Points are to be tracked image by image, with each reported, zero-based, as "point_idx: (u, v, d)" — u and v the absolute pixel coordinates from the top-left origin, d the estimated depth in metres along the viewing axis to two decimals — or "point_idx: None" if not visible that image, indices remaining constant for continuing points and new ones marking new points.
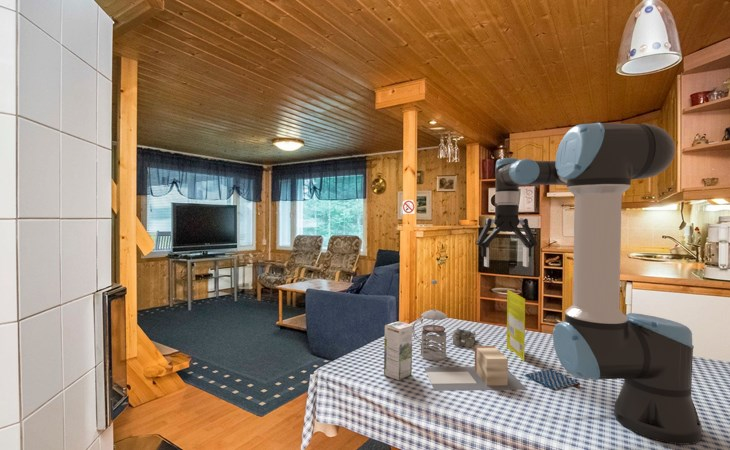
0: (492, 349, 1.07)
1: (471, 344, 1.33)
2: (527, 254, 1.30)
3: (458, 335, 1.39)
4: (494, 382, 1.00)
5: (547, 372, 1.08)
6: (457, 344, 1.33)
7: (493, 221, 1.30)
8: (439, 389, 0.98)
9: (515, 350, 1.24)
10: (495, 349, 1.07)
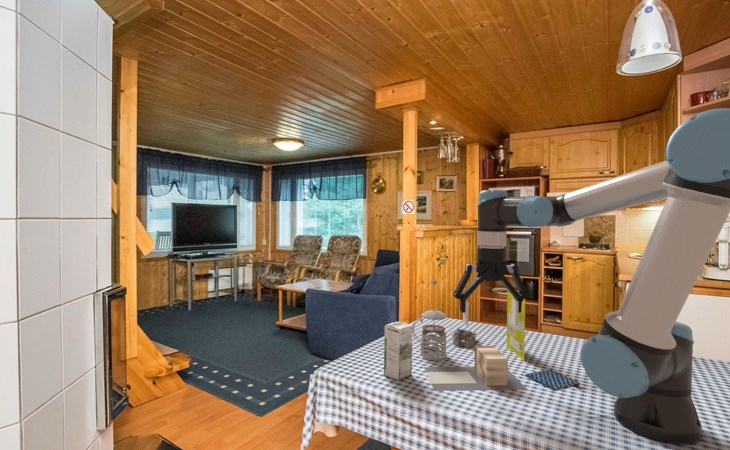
0: (492, 349, 1.07)
1: (471, 344, 1.32)
2: (516, 309, 1.04)
3: (458, 335, 1.39)
4: (494, 382, 1.00)
5: (547, 372, 1.08)
6: (457, 344, 1.33)
7: (474, 268, 1.04)
8: (439, 389, 0.98)
9: (515, 350, 1.24)
10: (495, 349, 1.07)
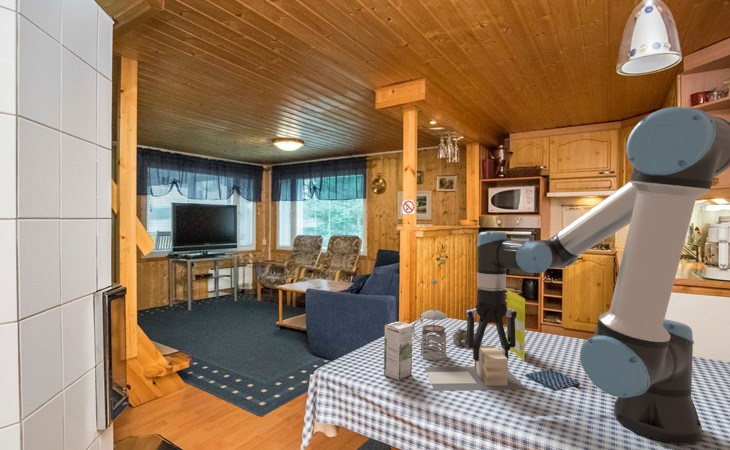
0: (492, 349, 1.07)
1: None
2: None
3: (459, 335, 1.39)
4: (494, 382, 1.00)
5: (547, 372, 1.08)
6: (457, 344, 1.33)
7: (475, 312, 1.04)
8: (439, 389, 0.98)
9: (515, 350, 1.24)
10: (495, 349, 1.07)
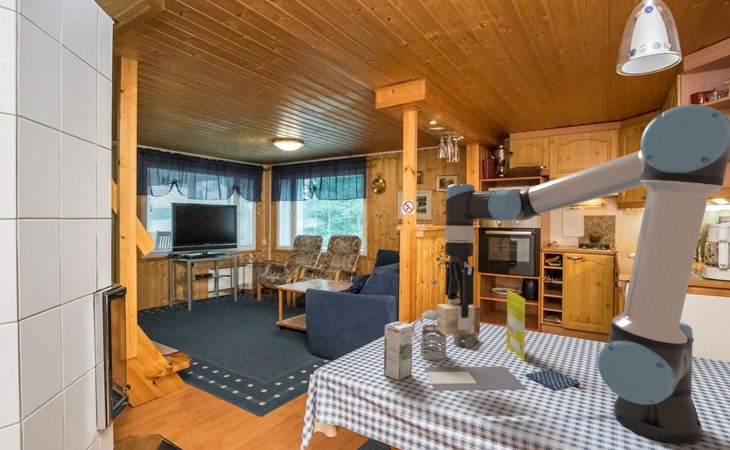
0: None
1: (471, 344, 1.32)
2: (458, 313, 1.02)
3: (460, 335, 1.39)
4: (439, 328, 1.05)
5: (547, 372, 1.08)
6: (457, 344, 1.33)
7: (450, 262, 1.09)
8: (439, 389, 0.98)
9: (515, 350, 1.24)
10: (469, 307, 1.03)
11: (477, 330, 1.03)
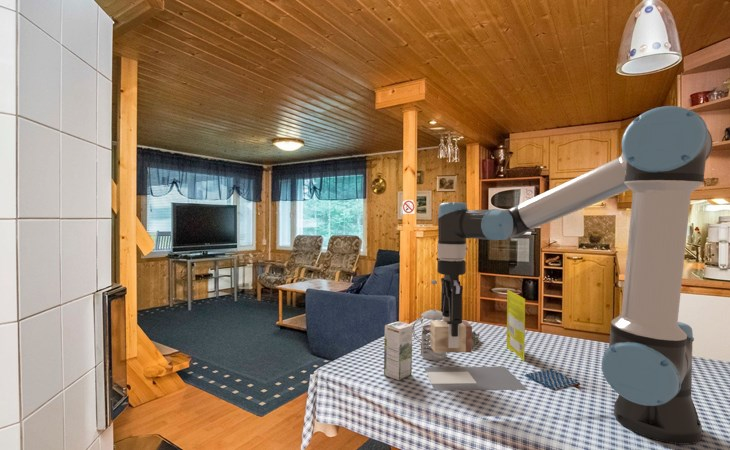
0: (459, 324, 1.04)
1: None
2: (448, 331, 1.02)
3: None
4: (431, 345, 1.05)
5: (547, 372, 1.08)
6: None
7: None
8: (439, 389, 0.98)
9: (515, 350, 1.24)
10: (460, 325, 1.03)
11: (469, 349, 1.02)
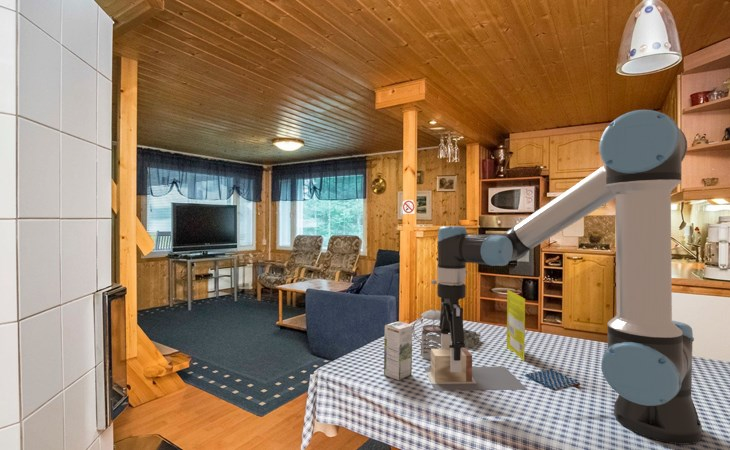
0: None
1: (471, 345, 1.32)
2: (451, 355, 1.00)
3: None
4: (432, 373, 1.05)
5: (547, 372, 1.08)
6: None
7: None
8: (439, 389, 0.98)
9: (515, 350, 1.24)
10: None
11: (470, 378, 1.02)
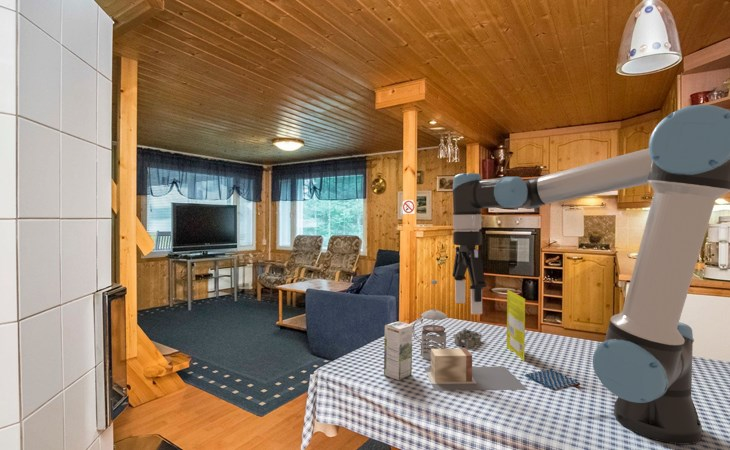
0: (459, 353, 1.04)
1: (471, 345, 1.32)
2: (471, 297, 0.98)
3: (463, 335, 1.39)
4: (432, 373, 1.05)
5: (547, 372, 1.08)
6: (457, 344, 1.34)
7: None
8: (439, 389, 0.98)
9: (515, 350, 1.24)
10: (460, 354, 1.03)
11: (470, 378, 1.02)
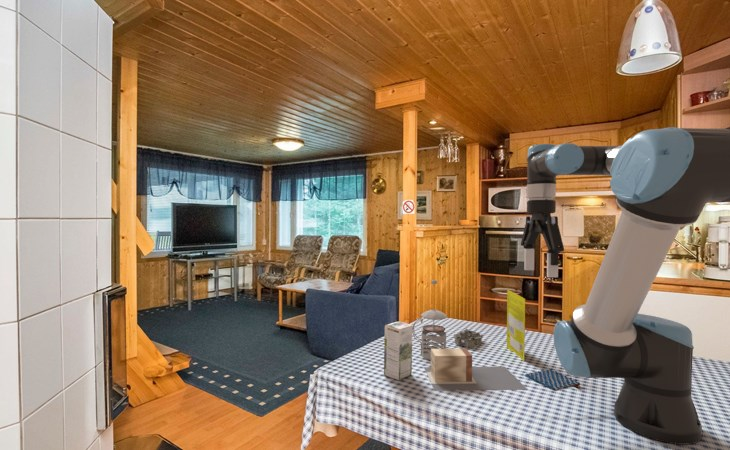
0: (459, 353, 1.04)
1: (471, 345, 1.32)
2: (547, 261, 1.03)
3: (464, 335, 1.39)
4: (432, 373, 1.05)
5: (547, 372, 1.08)
6: (457, 344, 1.34)
7: (531, 219, 1.15)
8: (439, 389, 0.98)
9: (515, 350, 1.24)
10: (460, 354, 1.03)
11: (470, 378, 1.02)
